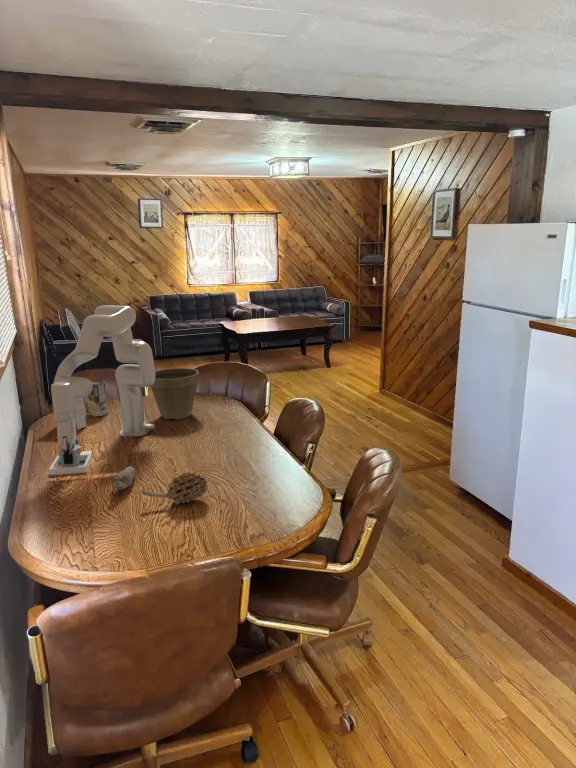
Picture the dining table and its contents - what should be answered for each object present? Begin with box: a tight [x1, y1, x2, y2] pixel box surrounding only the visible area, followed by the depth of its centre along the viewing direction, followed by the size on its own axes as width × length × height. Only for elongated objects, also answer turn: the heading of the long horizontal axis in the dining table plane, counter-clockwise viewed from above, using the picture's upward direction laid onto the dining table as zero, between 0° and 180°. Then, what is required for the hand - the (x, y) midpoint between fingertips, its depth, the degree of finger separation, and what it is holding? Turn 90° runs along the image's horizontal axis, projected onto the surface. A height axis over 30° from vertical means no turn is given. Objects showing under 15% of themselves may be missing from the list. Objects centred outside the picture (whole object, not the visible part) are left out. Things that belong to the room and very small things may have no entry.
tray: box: [48, 453, 93, 477], centre depth 214 cm, size 13×13×4 cm
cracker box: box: [50, 383, 87, 431], centre depth 261 cm, size 14×6×21 cm, turn 62°
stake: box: [75, 437, 93, 455], centre depth 224 cm, size 10×9×8 cm
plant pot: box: [150, 367, 200, 420], centre depth 276 cm, size 25×25×22 cm
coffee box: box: [83, 381, 109, 417], centre depth 280 cm, size 9×6×16 cm
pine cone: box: [139, 471, 209, 505], centre depth 184 cm, size 22×10×10 cm, turn 108°
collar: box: [58, 444, 83, 467], centre depth 213 cm, size 6×7×6 cm
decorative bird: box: [109, 466, 136, 497], centre depth 197 cm, size 5×16×7 cm, turn 175°
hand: (70, 459), depth 213 cm, fingers closed on collar, 6 cm apart
